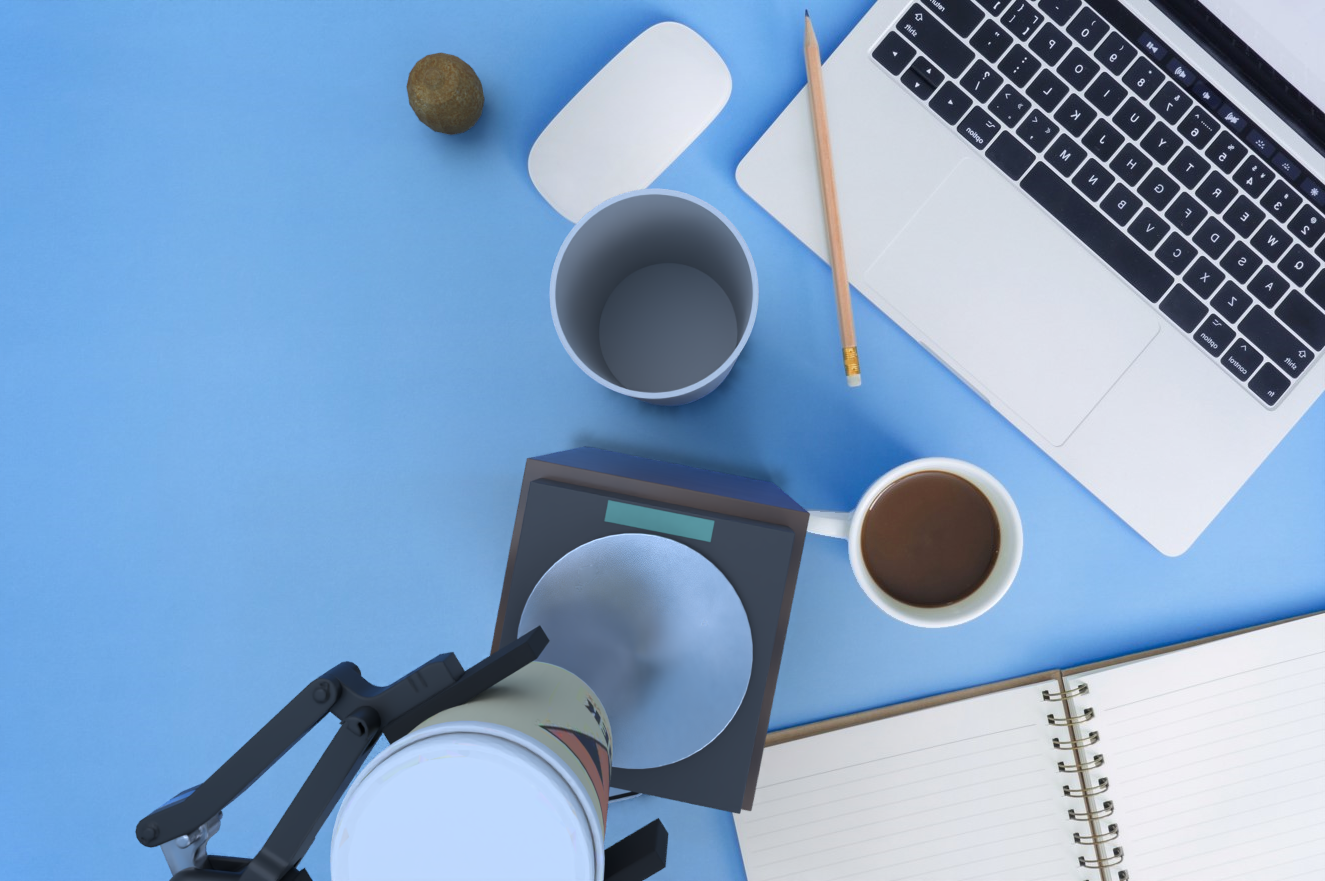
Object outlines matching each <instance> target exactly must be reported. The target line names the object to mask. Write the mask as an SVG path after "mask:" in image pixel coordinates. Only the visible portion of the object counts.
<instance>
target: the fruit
mask: <svg viewBox="0 0 1325 881" xmlns="http://www.w3.org/2000/svg"><path fill="white" fill-rule="evenodd" d="M481 81H482V80H481V79H480V78H479V76H478V75H477V73H476V72H475V70H474V68H473V67H472V66H471V65H470V64H469V63H467V62H466V61H465V60H463V59H462V58H460V57H459V56H457V55H454V54H450V53H445V52H436V53H431V54H430V53H429V54H427V55H425V56H423V57H422V58H420V59H418V60H417V61H416V62H415V63H414V65H413V67H412V68H411V70H410V71H409V73H408V78H407V83H406V86H405V87H406V93H407V98H408V104H409V106H410V108H411V109H412V111H413V113H414V114H415V116H416V117H417V119H418V121H419V122H421V123H422V124H423V125H424V126H426V127H428V128H429V129H430V130H431V131H433V132H434V133H439V134H444V135H448V136H454V135H459V134H464V133H466V132H467V131H469V130H470V129H472V128H473V127H475V125H476V124H477V123H478V121H479V120H480V118H481V117H482V115H483V110H484V107H485V101H486V100H485V93H484V87H483V84H482V82H481Z"/></svg>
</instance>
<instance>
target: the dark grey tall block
mask: <svg viewBox="0 0 1325 881" xmlns="http://www.w3.org/2000/svg"><path fill="white" fill-rule="evenodd" d="M523 470H524V471H523V476H522V482H521V487H520V492H519V498H518V503H517V508H516V513H515V519H514V524H513V530H512V534H511V539H510V545H509V550H508V556H507V562H506V567H505V573H504V577H503V583H502V589H501V594H500V599H499V605H498V608H497V614H496V619H495V620H496V622H495V626H494V631H493V635H492V641H491V646H490V652H489V656H490V655H492V654H494V653H495V652H497V651H498V650H499V646H500V640H501V635H502V630H503V624H504V619H505V614H506V608H507V603H508V598H509V592H510V587H511V582H512V576H513V571H514V566H515V560H516V555H517V550H518V544H519V539H520V534H521V528H522V523H523V518H524V512H525V507H526V502H527V496H528V491H529V486H530V482H531V481H533V480H536V479H539V478H544V479H549V480H554V481H559V482H564V483H569V484H574V485H579V486H584V487H590V488H595V489H600V490H605V491H610V492H615V493H620V494H625V495H631V496H636V497H641V498H646V499H651V500H656V501H661V502H666V503H671V504H677V505H682V506H687V507H692V508H697V509H702V510H707V511H712V512H717V513H723V514H728V515H733V516H738V517H743V518H748V519H753V520H758V521H763V522H769V523H774V524H779V525H784V526H789V527H790V528H791V529H792V530H793V531H794V533H795V538H794V543H793V548H792V554H791V559H790V564H789V569H788V574H787V579H786V584H785V589H784V594H783V599H782V604H781V609H780V615H779V620H778V625H777V630H776V635H775V640H774V645H773V650H772V655H771V660H770V665H769V671H768V676H767V681H766V686H765V691H764V696H763V701H762V706H761V711H760V716H759V721H758V726H757V732H756V737H755V742H754V747H753V752H752V757H751V762H750V767H749V772H748V777H747V782H746V788H745V793H744V798H743V803H742V808H741V811H742V810H743V811H747V812H752V810H753V805H754V800H755V797H756V796H755V795H756V790H757V785H758V780H759V775H760V771H761V767H762V766H761V765H762V761H763V755H764V750H765V744H766V739H767V735H768V729H769V725H770V721H771V720H770V719H771V715H772V710H773V703H774V699H775V693H776V689H777V685H778V679H779V673H780V668H781V664H782V658H783V654H784V648H785V643H786V638H787V634H788V627H789V623H790V618H791V613H792V607H793V603H794V597H795V592H796V588H797V583H798V577H799V572H800V568H801V562H802V557H803V552H804V547H805V542H806V536H807V531H808V526H809V521H810V517H811V513H810V512H809V511H808V510H807V509H805V508H804V507H803V506H802V505H800V503H798V502H797V501H796V500H795V499H793V498H792V497H791V496H790V495H788V494H787V493H786V492H785V491H784V490H783V489H782V488H780V487H779V486H778V485H777V484H776V483H774V482H772V481H767V480H761V479H756V478H752V477H747V476H742V475H736V474H731V473H726V472H721V471H715V470H711V469H705V468H701V467H695V466H691V465H685V464H679V463H675V462H669V461H664V460H658V459H653V458H649V457H643V456H637V455H633V454H627V453H622V452H617V451H613V450H606V449H601V448H598V447H597V448H596V447H591V446H587V445H586V446H579V447H575V448H570V449H565V450H560V451H555V452H551V453H550V452H549V453H546V454H540V455H535V456H531V457H527V458H526V460H525V465H524V469H523Z"/></svg>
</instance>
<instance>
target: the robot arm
mask: <svg viewBox="0 0 1325 881" xmlns="http://www.w3.org/2000/svg"><path fill="white" fill-rule="evenodd" d="M549 641H550V640H549V639H548V637H547V635H546V634H545V632H544V631H543V629H542V627H541V626H540V625H539V626H538V627H536V628H534V629H533V630H531V631H529V632H528V633H526V634H525V635H523V636H521V637H520V638H518V639H516V640H515V641H513V642H512V643H510V644H508V645H507V646H505V647H503V648H502V649H500V650H498V651H497V652H495V653H494V654H492V655H490V654H489V655H488V656H487V657H485V658H484V659H482V660H480V661H479V662H477V663H476V664H474V665H472V666H471V667H468V668H467V669H466V670H465V669H464V667H463V665H462V664H461V662H460V660H459V659H458V657H457V655H456V653H455V652H454V651H449V652H443V653H439V654H438V655H436V656H434V657H432V658H431V659H429V660H428V661H426V662H424V663H423V664H421V665H420V666H418V667H417V668H415V669H413V670H412V671H410V672H408V673H407V674H405V675H403V676H402V677H400V678H398V679H397V680H395V681H393V682H392V683H390V684H389V685H384V686H381V685H380V686H379V685H375V684H372V683H371V682H369V681H368V680H367V679H366V678H365V677H363V676H362V671H361V670H360V667H359V666H358V665H357V664H356V663H354V662H352V661H348V660H346V661H341V662H340V663H338V664H336V665H335V666H333V667H332V668H330V669H328V670H326V672H324V673H323V674H321V675H319V676H318V677H317V678H315V679H313V680H312V681H311V682H309V683H308V684H307V685H306V686H305V687H304V688H303V689H302V690H301V691H300V692H299V693H297V694H296V696H294V697H293V698H292V699H291V700H290V701H289V702H288V703H287V704H286V705H285V706H284V707H283V708H282V709H281V710H280V711H279V712H277V713H276V714H275V715H274V716H273V717H272V718H271V719H270V720H269V721H268V722H267V723H266V724H265V725H264V726H263V727H261V728H260V729H259V730H258V731H257V732H256V733H255V734H253V736H252V737H251V738H249V739H248V741H246V743H244V744H243V745H242V746H241V747H240V748H239V749H238V750H237V751H235V752H234V753H233V755H232V756H230V757H229V758H228V759H227V760H226V761H225V762H224V763H223V764H222V765H221V766H220V767H219V768H217V769H216V771H214V772H213V773H212V774H211V775H210V776H209V777H208V778H206V780H205V781H204V782H202V783H199V784H196V785H195V786H192V787H189V788H187V789H184V790H182V791H180V792H178V793H177V794H176V795H175V796H173V797H172V798H170V799H169V800H167V801H165V802H164V803H162V804H161V805H160V806H158V807H157V808H156V809H154V810H153V811H152V812H151V813H149V814H148V815H146V816H145V817H143V818H142V819H140V820H139V821H138V823H137V824H136V826H135V831H134V832H135V836H136V837H135V838H136V839H137V840H138V843H139V844H141V845H142V846H143V847H147V848H151V849H153V848H156V847H159V846H160V850H161V852H162V854H163V856H164V860H165V861H166V863H167V866H168V868H169V871H170V874H171V875H172V877H170V879H169V880H168V881H314V880H313V878H312V877H311V875H310V874H309V872H308V870H307V868H306V867H303V868H302V869H300V870H299V869H298V866H299V865H300V864H301V862H302V860H303V859H304V858H305V856H306V854H307V853H308V851H309V850H310V848H311V846H312V845H313V843H314V842H315V840H316V838H317V837H316V836H317V835H318V833H319V831H320V830H321V829H322V827H323V826H324V824H325V823H326V822H327V820H328V818H329V816H331V814H332V812H333V810H334V809H335V807H336V806H337V804H338V803H339V801H340V799H342V796H343V795H344V794H345V792H346V790H347V789H348V787H349V786H350V785H351V783H352V781H353V780H354V778H355V776H356V775H357V773H358V772H359V770H360V769H361V767H362V766H363V765H364V763H365V762H366V760H367V758H368V757H369V755H370V754H371V752H372V751H373V749H374V748H375V746H376V745H377V743H378V741H379V740H380V738H381V737H382V735H383V736H384V737H385V739H386V740H387V742H388V744H389V746H390V745H391V744H392V743H394V742H396V741H397V740H399V739H401V738H402V737H404V736H406V735H407V734H409V733H410V732H411V731H412V730H413V729H414V728H416V727H417V726H418V725H419V724H421V723H422V722H424V721H425V720H427V719H428V718H430V717H432V716H434V715H436V714H438V713H439V712H442V711H444V710H447V709H450V708H453V707H456V706H460V705H462V704H464V703H465V702H467V701H469V700H470V699H472V698H474V697H475V696H477V695H478V694H480V693H482V692H483V691H485V690H487V689H488V688H490V687H492V686H493V685H495V684H496V683H498V682H500V681H501V680H503V679H505V678H506V677H508V676H510V675H511V674H513V673H515V672H516V671H518V670H519V669H521V668H523V667H524V666H526V665H528V664H529V663H531V662H533V661H534V660H536V659H537V658H538V657H539V655H540V654H541V653H542V651H543V650H544V648H545V647H546V646H547V644H548V643H549ZM330 713H331V714H332V715H333V716H335V718H337V719H338V720H339V721H340V722H339V725H340V727H339V729H338V730H337V731H336V733H335V735H334V736H333V738H332V740H331V741H330V742H329V744H328V746H327V747H326V749H325V750H324V752H323V753H322V754H321V757H320V758H319V759H318V760H317V763H316V764H315V766H314V767H313V769H312V770H311V771H310V773H309V775H308V777H307V778H306V779H305V781H304V782H303V784H302V785H301V787H300V788H299V790H298V792H297V793H296V795H295V796H294V798H293V799H292V801H291V803H290V804H289V805H288V807H287V808H286V810H285V812H284V813H283V815H282V816H281V818H280V820H279V821H278V822H277V823H276V826H275V827H274V828H273V830H272V832H271V833H270V835H269V836H268V838H267V839H266V841H265V842H264V844H263V846H262V847H261V848H260V850H259V851H258V852H257V854H255V856H254V857H253V858H252V857H251V858H250V857H242V856H241V857H240V856H229V855H219V854H208V852H207V845H208V842H209V841H210V839H211V838H213V837H214V836H215V835H216V834H217V833H218V832H219V830H220V828H221V825H222V824H221V821H222V819H223V816H224V813H223V810H224V809H225V808H227V807H228V806H229V805H230V804H232V802H234V801H235V800H236V799H237V798H239V797H240V796H241V795H242V794H243V793H245V792H246V791H247V790H248V789H249V788H250V787H252V786H253V785H254V784H255V783H256V782H257V781H258V780H259V779H260V778H261V777H262V776H263V775H264V774H265V773H266V772H268V771H269V770H270V769H271V768H272V767H273V766H274V765H275V764H276V763H277V762H278V761H279V760H280V759H281V758H282V757H284V756H285V755H286V754H287V753H288V752H289V751H290V750H291V749H292V748H294V746H295V745H297V744H298V743H299V742H300V741H301V740H302V739H303V738H304V737H305V736H306V735H308V733H309V732H311V731H312V730H313V728H315V727H316V726H317V725H318V724H319V723H320V722H321V721H322V720H323V719H324V718H325V717H326V716H328V715H329V714H330ZM668 844H669V832H668V830H667V829H666V827H665V825H664V824H663V822H662V820H661V819H660V817H657V818H655V819H654V820H652V821H650V822H649V823H646V824H645V825H644V826H642V827H640V828H639V829H637V830H635V831H634V832H632V833H631V834H628V835H627V836H626V837H624V838H622V839H620V840H619V841H617V842H615V843H614V844H612V845H610V846H609V847H607V848H604V857H605V861H604V879H603V881H645V880H647V879H648V878H650V877H652V876H654V875H655V874H657V873H659V872H661V871H662V870H664V869H665V868H666V867H667V859H668V858H667V856H668V847H669V846H668Z"/></svg>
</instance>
